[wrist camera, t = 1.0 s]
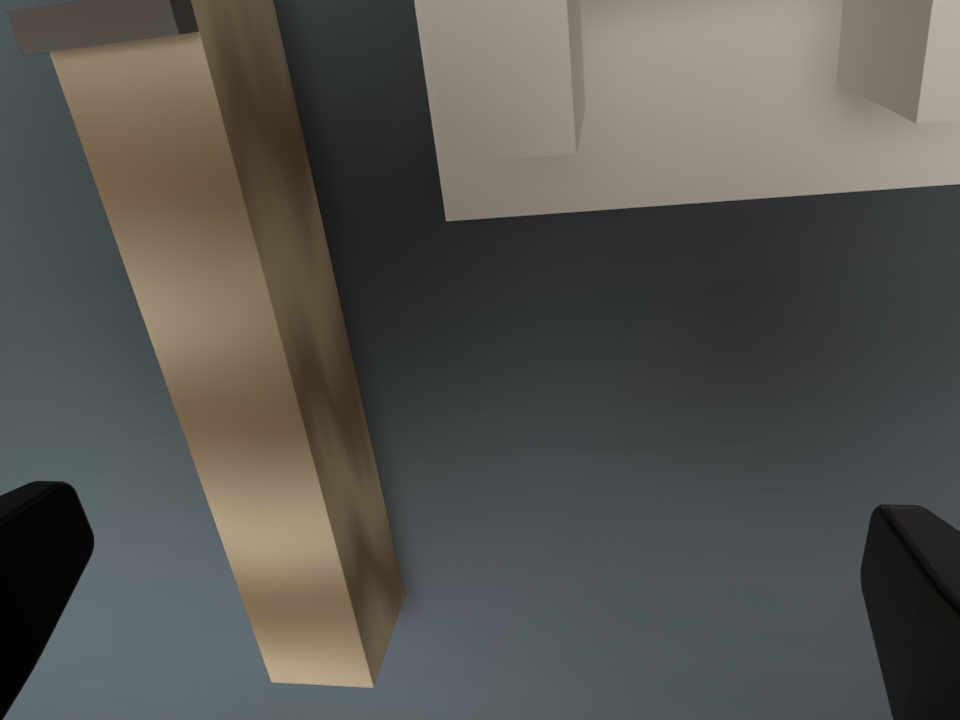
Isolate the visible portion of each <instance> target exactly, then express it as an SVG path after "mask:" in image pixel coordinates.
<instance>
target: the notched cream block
mask: <svg viewBox="0 0 960 720" xmlns="http://www.w3.org/2000/svg"><path fill="white" fill-rule="evenodd" d="M414 3H415V10H416V17H417V24H418V31H419V38H420V45H421V52H422V58H423V65H424V72H425V79H426V86H427V93H428V100H429V107H430V114H431V121H432V128H433V135H434V141H435V148H436V155H437V162H438V169H439V176H440V183H441V190H442V197H443V204H444V211H445V218H446V221H459V220H472V219H486V218H500V217H514V216H527V215H541V214H555V213H569V212H582V211H596V210H610V209H623V208H637V207H651V206H665V205H678V204H692V203H706V202H719V201H733V200H747V199H761V198H774V197H788V196H802V195H815V194H829V193H843V192H857V191H870V190H884V189H898V188H912V187H925V186H939V185H953V184H960V0H414Z"/></svg>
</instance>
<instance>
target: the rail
mask: <svg viewBox="0 0 960 720" xmlns="http://www.w3.org/2000/svg"><path fill="white" fill-rule="evenodd" d="M7 14H8V16H9V19H10V22H11V24H12V27H13V30H14V33H15V35H16V38H17V41H18V43H19V46H20V49H21V52H22V54H23V55H30V54H37V53H45V52H50V55H51V58H52V61H53V64H54V67H55V70H56V72H57V75H58V78H59V81H60V84H61V87H62V89H63V92H64V95H65V98H66V101H67V104H68V106H69V109H70V112H71V115H72V118H73V121H74V123H75V126H76V129H77V132H78V135H79V138H80V140H81V143H82V146H83V149H84V152H85V155H86V157H87V160H88V163H89V166H90V169H91V172H92V174H93V177H94V180H95V183H96V186H97V189H98V191H99V194H100V197H101V200H102V203H103V206H104V208H105V211H106V214H107V217H108V220H109V223H110V225H111V228H112V231H113V234H114V237H115V240H116V242H117V245H118V248H119V251H120V254H121V257H122V259H123V262H124V265H125V268H126V271H127V274H128V276H129V279H130V282H131V285H132V288H133V291H134V294H135V296H136V299H137V302H138V305H139V308H140V311H141V313H142V316H143V319H144V322H145V325H146V328H147V330H148V333H149V336H150V339H151V342H152V345H153V347H154V350H155V353H156V356H157V359H158V362H159V364H160V367H161V370H162V373H163V376H164V379H165V381H166V384H167V387H168V390H169V393H170V396H171V398H172V401H173V404H174V407H175V410H176V413H177V415H178V418H179V421H180V424H181V427H182V430H183V432H184V435H185V438H186V441H187V444H188V447H189V449H190V452H191V455H192V458H193V461H194V464H195V466H196V469H197V472H198V475H199V478H200V481H201V483H202V486H203V489H204V492H205V495H206V498H207V500H208V503H209V506H210V509H211V512H212V515H213V518H214V520H215V523H216V526H217V529H218V532H219V535H220V537H221V540H222V543H223V546H224V549H225V552H226V554H227V557H228V560H229V563H230V566H231V569H232V571H233V574H234V577H235V580H236V583H237V586H238V588H239V591H240V594H241V597H242V600H243V603H244V605H245V608H246V611H247V614H248V617H249V620H250V622H251V625H252V628H253V631H254V634H255V637H256V639H257V642H258V645H259V648H260V651H261V654H262V656H263V659H264V662H265V665H266V668H267V671H268V673H269V676H270V679H271V682H278V683H297V684H315V685H334V686H352V687H371V688H374V685H375V682H376V679H377V676H378V673H379V670H380V667H381V664H382V661H383V658H384V655H385V652H386V649H387V646H388V643H389V640H390V638H391V635H392V632H393V629H394V626H395V623H396V620H397V617H398V614H399V611H400V608H401V605H402V602H403V599H404V596H405V594H404V589H403V585H402V580H401V576H400V571H399V567H398V562H397V558H396V553H395V549H394V544H393V540H392V535H391V531H390V526H389V521H388V517H387V512H386V508H385V503H384V499H383V494H382V490H381V485H380V481H379V476H378V472H377V467H376V463H375V458H374V454H373V449H372V445H371V440H370V436H369V431H368V427H367V422H366V418H365V413H364V409H363V404H362V400H361V395H360V391H359V386H358V381H357V377H356V372H355V368H354V363H353V359H352V354H351V350H350V345H349V341H348V336H347V332H346V327H345V323H344V318H343V314H342V309H341V305H340V300H339V296H338V291H337V287H336V282H335V278H334V273H333V269H332V264H331V260H330V255H329V250H328V246H327V241H326V237H325V232H324V228H323V223H322V219H321V214H320V210H319V205H318V201H317V196H316V192H315V187H314V183H313V178H312V174H311V169H310V165H309V160H308V156H307V151H306V147H305V142H304V138H303V133H302V129H301V124H300V119H299V115H298V110H297V106H296V101H295V97H294V92H293V88H292V83H291V79H290V74H289V70H288V65H287V61H286V56H285V52H284V47H283V43H282V38H281V34H280V29H279V25H278V20H277V16H276V11H275V7H274V2H273V0H86V1H79V2H72V3H65V4H58V5H52V6H45V7H38V8H31V9H25V10H18V11H11V12H7Z"/></svg>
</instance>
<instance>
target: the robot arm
mask: <svg viewBox="0 0 960 720" xmlns="http://www.w3.org/2000/svg"><path fill="white" fill-rule="evenodd" d="M93 548H94V534H93V531H92V529H91V526H90V524H89V521H88V519H87V517H86V514H85V512H84V509H83V507H82V504H81V502H80V500H79V497H78V495H77V492H76V491H75V489H74V488H73V487H72V486H71V485H70V484H68V483H66V482H62V481H35V482H31V483H28V484H26V485H24V486H21V487H19V488H17V489H15V490H12V491H10V492H8V493H6V494H3V495H1V496H0V720H3V718H4V717H5V715H6V714H7V712H8V710H9V709H10V707H11V706H12V704H13V702H14V701H15V699H16V697H17V696H18V694H19V693H20V691H21V689H22V688H23V686H24V684H25V683H26V681H27V679H28V678H29V676H30V674H31V673H32V671H33V669H34V667H35V665H36V664H37V662H38V660H39V658H40V656H41V654H42V652H43V650H44V649H45V647H46V645H47V643H48V641H49V639H50V637H51V635H52V633H53V631H54V629H55V627H56V625H57V623H58V621H59V619H60V617H61V615H62V613H63V611H64V609H65V607H66V605H67V603H68V601H69V599H70V597H71V595H72V593H73V591H74V589H75V587H76V585H77V583H78V581H79V579H80V577H81V575H82V573H83V571H84V569H85V567H86V565H87V563H88V561H89V559H90V557H91V555H92V552H93ZM861 586H862V592H863V596H864V600H865V605H866V609H867V613H868V617H869V621H870V625H871V630H872V634H873V638H874V642H875V646H876V650H877V654H878V659H879V663H880V667H881V671H882V675H883V679H884V684H885V688H886V692H887V696H888V700H889V704H890V709H891V713H892V716H893V720H960V532H959V531H958V530H956V529H955V528H953V527H952V526H951V525H949V524H948V523H946V522H945V521H943V520H942V519H940V518H939V517H937V516H936V515H935V514H933V513H932V512H930V511H929V510H927V509H925V508H924V507H921V506H917V505H886V504H883V505H880V506H878V507H876V508H875V509H874V511H873V513H872V515H871V519H870V524H869V529H868V534H867V539H866V544H865V549H864V554H863V559H862V564H861Z"/></svg>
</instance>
